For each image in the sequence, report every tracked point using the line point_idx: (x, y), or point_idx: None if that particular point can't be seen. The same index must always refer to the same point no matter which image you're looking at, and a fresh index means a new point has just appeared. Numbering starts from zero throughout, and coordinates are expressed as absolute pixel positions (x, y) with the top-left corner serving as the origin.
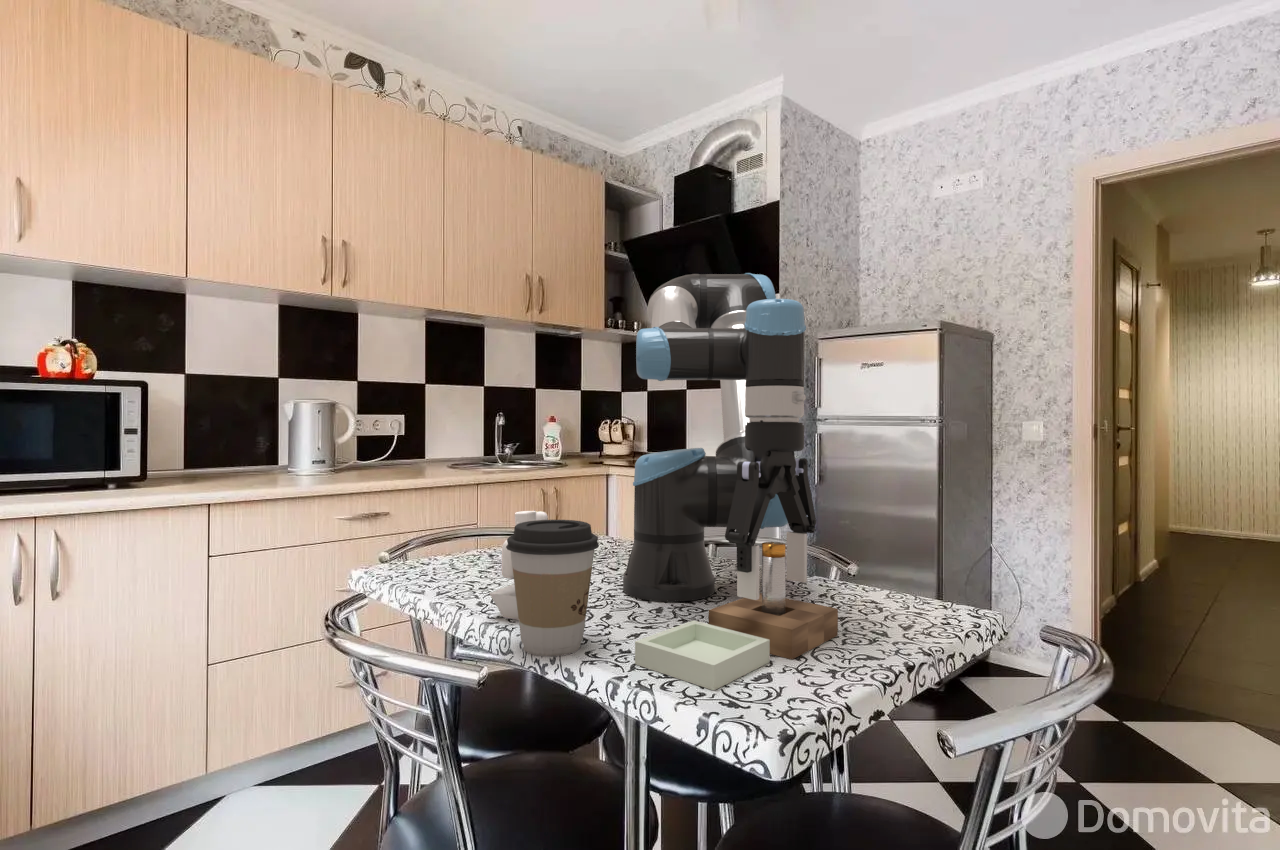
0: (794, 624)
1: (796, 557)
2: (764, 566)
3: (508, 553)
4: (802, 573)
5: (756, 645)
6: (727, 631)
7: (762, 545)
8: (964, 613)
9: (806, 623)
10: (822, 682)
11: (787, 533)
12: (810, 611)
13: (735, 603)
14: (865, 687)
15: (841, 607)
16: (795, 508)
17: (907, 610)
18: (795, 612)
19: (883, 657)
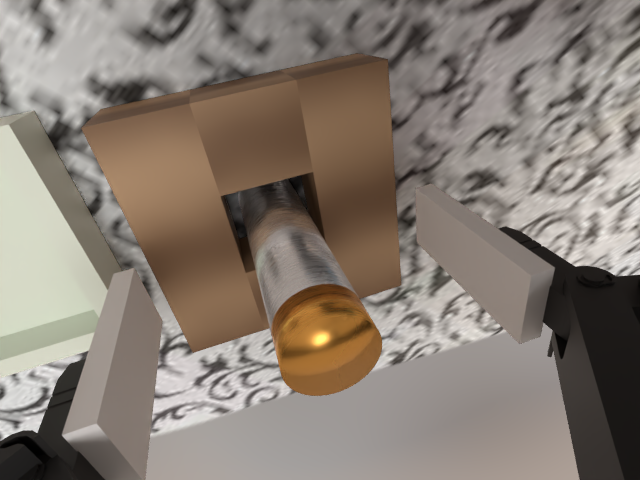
0: (226, 330)
1: (460, 257)
2: (265, 298)
3: None
4: (431, 249)
5: (78, 352)
6: (66, 257)
7: (286, 341)
8: (622, 265)
9: (257, 330)
10: (165, 390)
11: (526, 276)
12: None
13: (224, 117)
14: (210, 415)
15: (561, 123)
16: (582, 463)
17: (601, 211)
18: None
19: None
